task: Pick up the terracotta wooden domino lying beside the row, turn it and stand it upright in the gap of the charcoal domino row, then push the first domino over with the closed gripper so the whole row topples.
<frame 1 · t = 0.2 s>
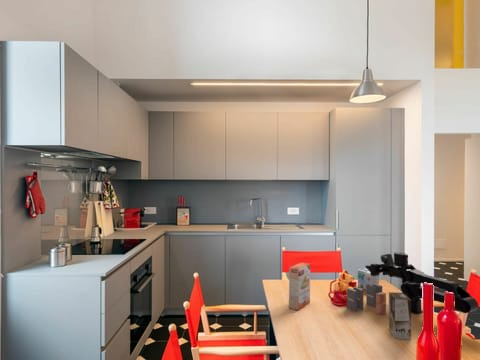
hand: (371, 265, 177), 17 cm above the table, tool horizontal, fingers open, 9 cm apart
domino 2: (371, 305, 161), on the table
light bulb box: (368, 289, 187), on the table
coffee box: (399, 334, 129), on the table
domino 4: (358, 308, 157), on the table
domino 1: (377, 303, 163), on the table
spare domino: (381, 313, 150), on the table
domino 5: (351, 309, 155), on the table
cracker box: (299, 305, 160), on the table
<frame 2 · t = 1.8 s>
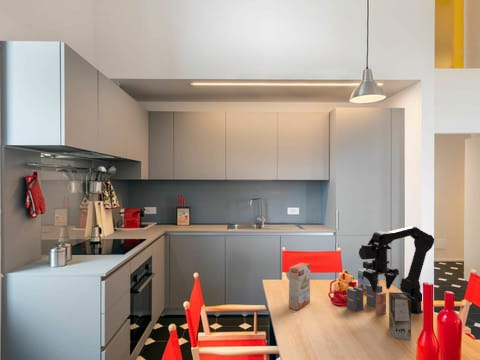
hand: (381, 290, 150), 11 cm above the table, tool pointing down, fingers open, 9 cm apart
nothing on the table moved.
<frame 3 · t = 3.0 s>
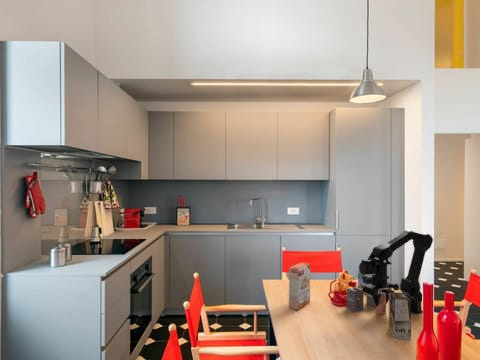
hand: (381, 305, 150), 4 cm above the table, tool pointing down, fingers closed on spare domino, 5 cm apart
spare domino: (381, 313, 150), on the table, touching gripper
everything else where it was.
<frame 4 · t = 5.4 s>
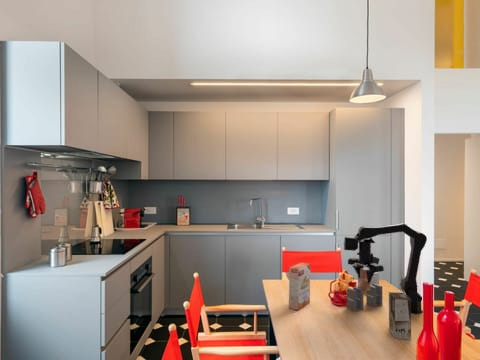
hand: (365, 281, 159), 13 cm above the table, tool pointing down, fingers closed on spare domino, 5 cm apart
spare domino: (365, 289, 159), point 9 cm above the table, touching gripper
everything else where it was.
when the fingers open (5 cm above the table, at t = 7.7 s): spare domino stays where it is, on the table.
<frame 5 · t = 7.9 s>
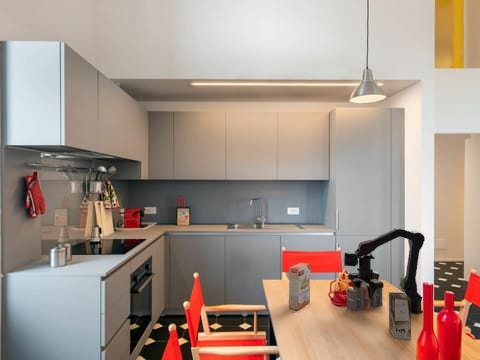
hand: (365, 297, 159), 5 cm above the table, tool pointing down, fingers open, 7 cm apart
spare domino: (365, 306, 159), on the table
everything else where it was.
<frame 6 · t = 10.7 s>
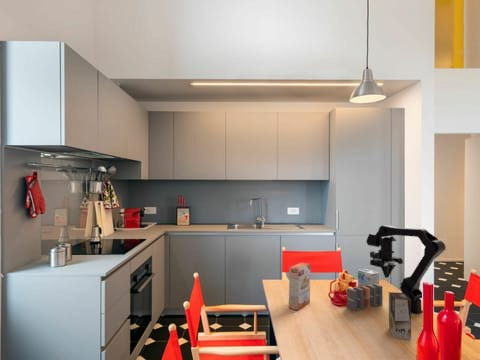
hand: (386, 277, 166), 13 cm above the table, tool pointing down, fingers closed
nothing on the table moved.
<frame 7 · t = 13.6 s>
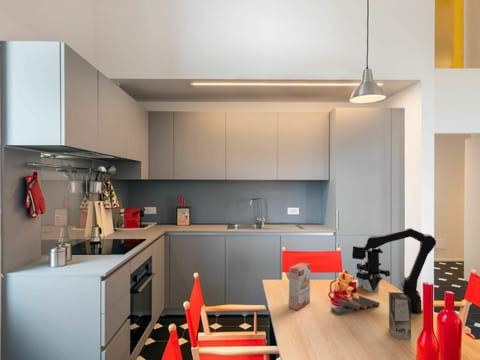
hand: (373, 290, 162), 8 cm above the table, tool pointing down, fingers closed
domino 2: (368, 304, 160), point 1 cm above the table, tilted 68°, touching domino 1, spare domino
domino 4: (356, 306, 156), point 1 cm above the table, tilted 69°, touching domino 5
domino 1: (375, 302, 162), point 1 cm above the table, tilted 68°, touching domino 2
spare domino: (363, 305, 158), point 1 cm above the table, tilted 68°, touching domino 2
domino 5: (350, 308, 155), point 1 cm above the table, tilted 89°, touching domino 4
everything else where it was.
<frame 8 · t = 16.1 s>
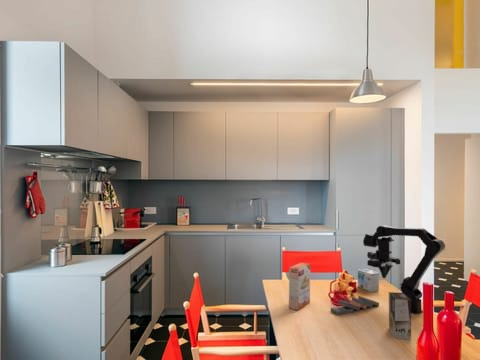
hand: (384, 278, 165), 13 cm above the table, tool pointing down, fingers closed
domino 4: (355, 307, 156), point 1 cm above the table, tilted 68°, touching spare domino
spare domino: (362, 305, 158), point 1 cm above the table, tilted 68°, touching domino 2, domino 4
domino 5: (349, 308, 155), point 1 cm above the table, tilted 89°
at the end: domino 5 tilted 89°; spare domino inside the target area (1.4 cm from its centre), point 0.7 cm above the table; domino 2 tilted 68° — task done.
